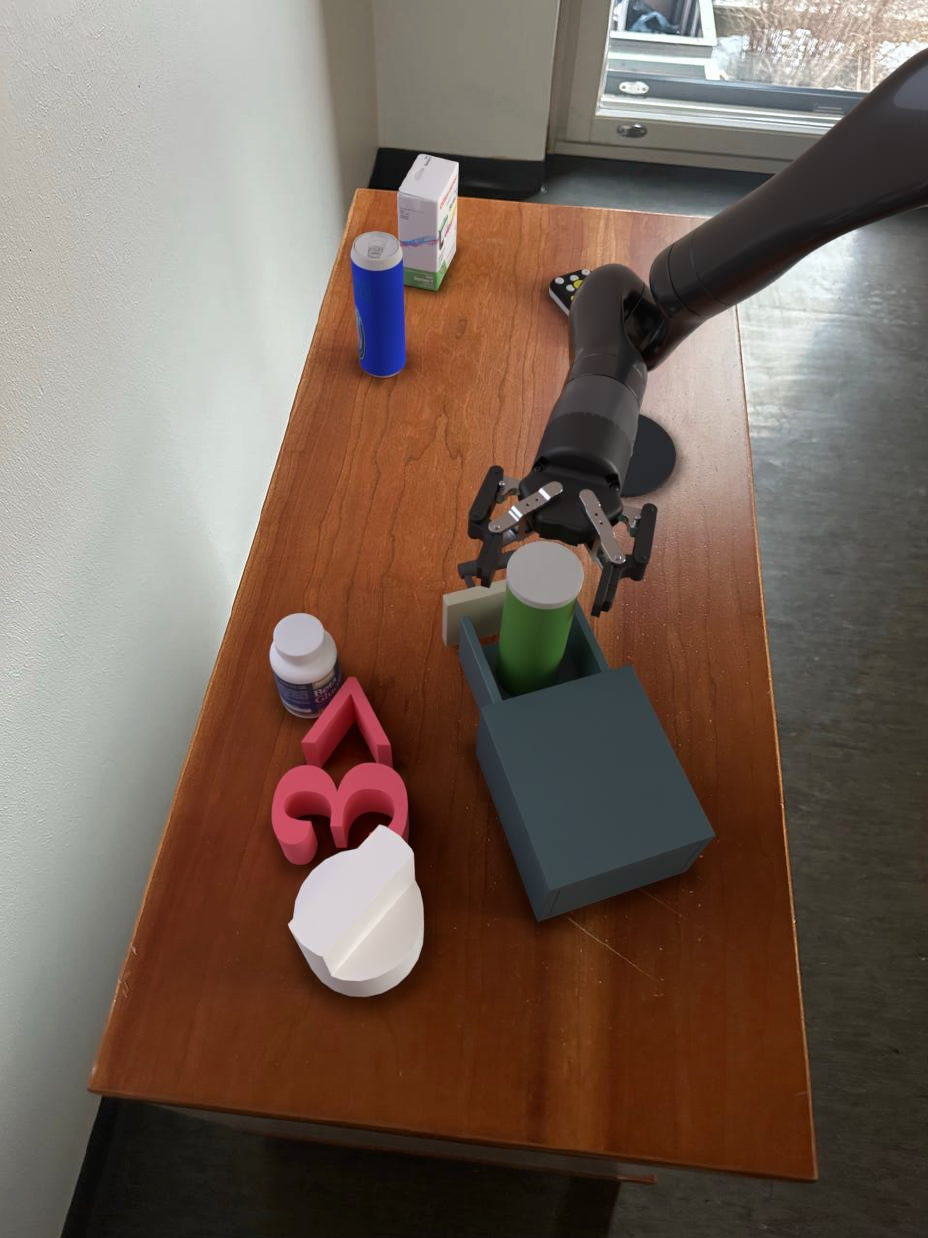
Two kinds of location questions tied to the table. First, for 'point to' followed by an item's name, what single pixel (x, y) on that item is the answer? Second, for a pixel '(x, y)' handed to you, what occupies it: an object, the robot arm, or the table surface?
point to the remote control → (566, 288)
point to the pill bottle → (305, 665)
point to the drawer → (482, 617)
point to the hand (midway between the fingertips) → (540, 596)
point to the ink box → (428, 220)
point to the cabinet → (588, 791)
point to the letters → (357, 790)
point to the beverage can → (379, 303)
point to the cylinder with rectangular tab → (362, 916)
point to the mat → (649, 459)
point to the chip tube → (537, 616)
